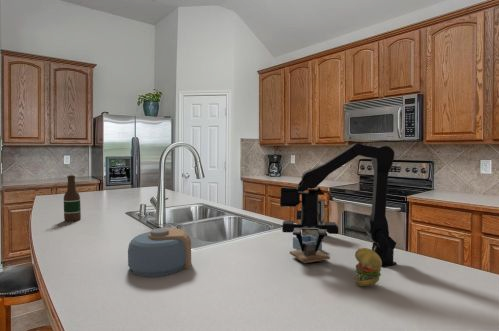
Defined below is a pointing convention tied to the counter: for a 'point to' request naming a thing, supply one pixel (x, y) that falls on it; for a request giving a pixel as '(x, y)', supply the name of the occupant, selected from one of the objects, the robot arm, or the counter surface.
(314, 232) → the coffee box
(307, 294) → the counter surface
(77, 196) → the beer bottle
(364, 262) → the hamburger
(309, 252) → the lid
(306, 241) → the light blue open box
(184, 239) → the blue squat cylinder
